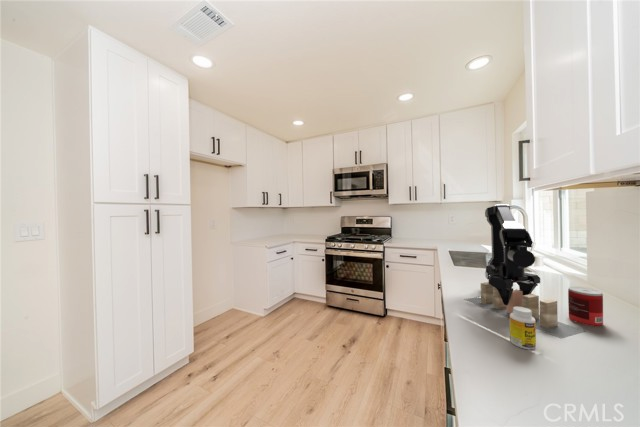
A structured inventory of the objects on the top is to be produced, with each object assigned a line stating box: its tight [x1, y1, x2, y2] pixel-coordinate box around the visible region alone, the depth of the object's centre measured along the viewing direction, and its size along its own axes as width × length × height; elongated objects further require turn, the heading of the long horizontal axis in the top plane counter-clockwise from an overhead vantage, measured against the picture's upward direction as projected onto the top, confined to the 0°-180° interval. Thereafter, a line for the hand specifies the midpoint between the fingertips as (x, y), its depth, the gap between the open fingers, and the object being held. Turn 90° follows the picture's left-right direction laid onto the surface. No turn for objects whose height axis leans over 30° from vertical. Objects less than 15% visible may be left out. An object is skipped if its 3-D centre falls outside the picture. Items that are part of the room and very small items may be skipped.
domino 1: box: [480, 281, 493, 304], centre depth 94 cm, size 2×5×8 cm, turn 107°
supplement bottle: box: [509, 307, 537, 350], centre depth 65 cm, size 6×6×10 cm
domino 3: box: [507, 289, 523, 314], centre depth 84 cm, size 2×5×8 cm, turn 107°
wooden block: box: [539, 298, 559, 328], centre depth 75 cm, size 2×5×8 cm, turn 107°
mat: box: [463, 296, 586, 339], centre depth 84 cm, size 12×32×1 cm, turn 17°
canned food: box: [567, 286, 604, 327], centre depth 77 cm, size 8×8×11 cm
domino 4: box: [522, 293, 540, 320], centre depth 80 cm, size 2×5×8 cm, turn 107°
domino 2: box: [493, 287, 507, 309], centre depth 89 cm, size 2×5×8 cm, turn 107°
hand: (514, 303), depth 84 cm, fingers open, 9 cm apart
